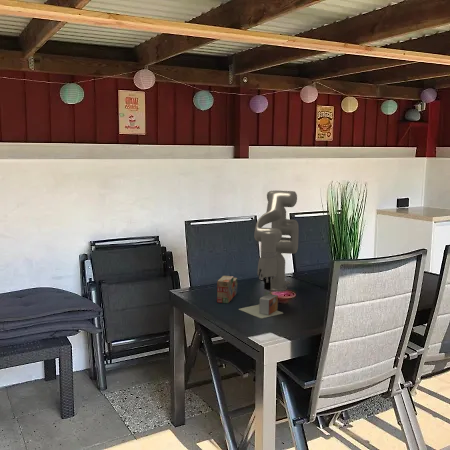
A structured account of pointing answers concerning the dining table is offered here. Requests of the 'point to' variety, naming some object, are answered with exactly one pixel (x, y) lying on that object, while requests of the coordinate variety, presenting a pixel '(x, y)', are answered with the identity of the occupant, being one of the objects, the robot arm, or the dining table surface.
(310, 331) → the dining table surface
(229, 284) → the stack of blocks
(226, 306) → the dining table surface
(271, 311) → the small box
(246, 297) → the dining table surface
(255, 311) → the mat
